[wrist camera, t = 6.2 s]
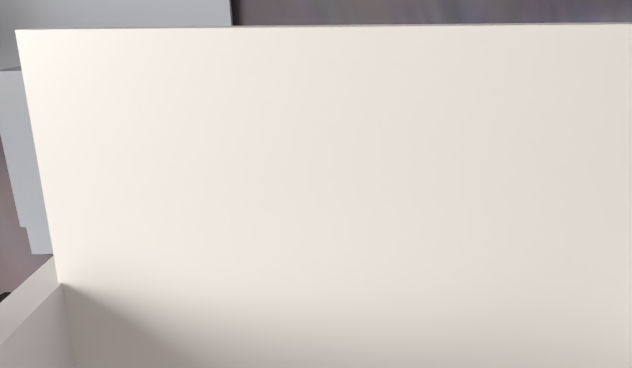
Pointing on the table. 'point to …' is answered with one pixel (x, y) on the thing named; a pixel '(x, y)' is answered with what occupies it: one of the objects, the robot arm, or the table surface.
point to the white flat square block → (338, 193)
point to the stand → (9, 91)
